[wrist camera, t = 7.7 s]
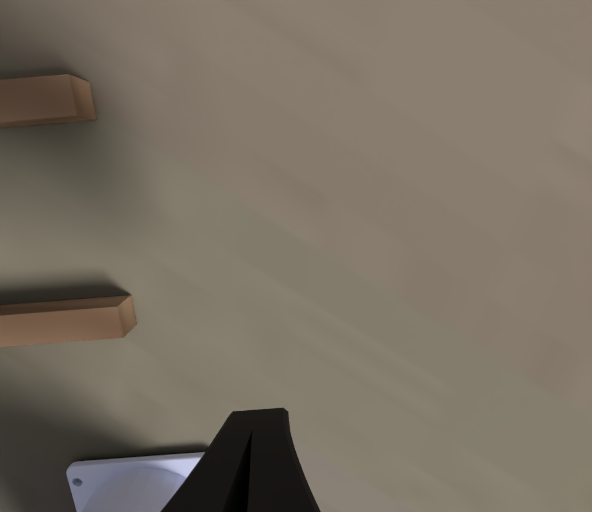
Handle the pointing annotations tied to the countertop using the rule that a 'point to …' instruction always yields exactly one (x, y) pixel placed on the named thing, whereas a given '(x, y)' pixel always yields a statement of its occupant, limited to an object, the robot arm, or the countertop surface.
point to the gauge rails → (66, 313)
